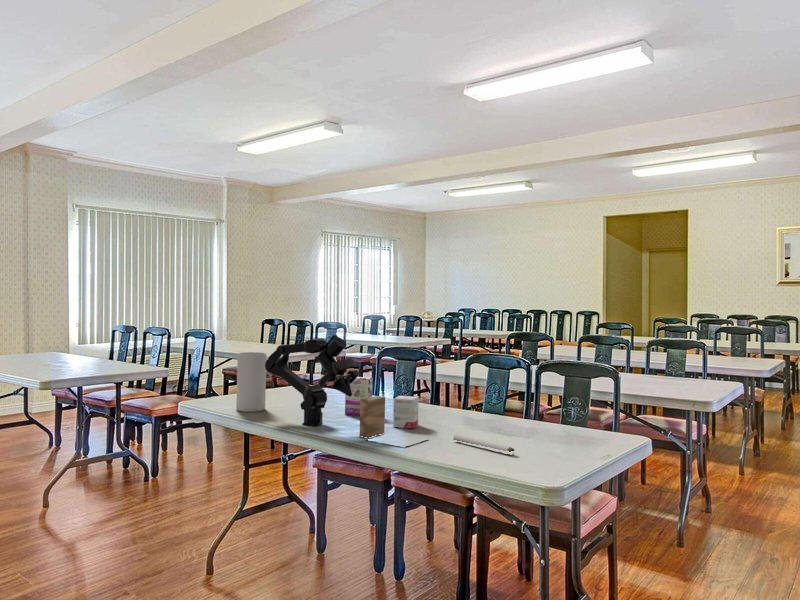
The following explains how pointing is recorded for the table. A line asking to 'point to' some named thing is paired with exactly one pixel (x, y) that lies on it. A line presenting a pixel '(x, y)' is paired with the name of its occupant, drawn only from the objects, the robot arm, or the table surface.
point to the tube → (482, 442)
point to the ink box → (405, 412)
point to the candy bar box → (358, 394)
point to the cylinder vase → (251, 381)
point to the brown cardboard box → (372, 416)
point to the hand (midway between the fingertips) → (351, 395)
